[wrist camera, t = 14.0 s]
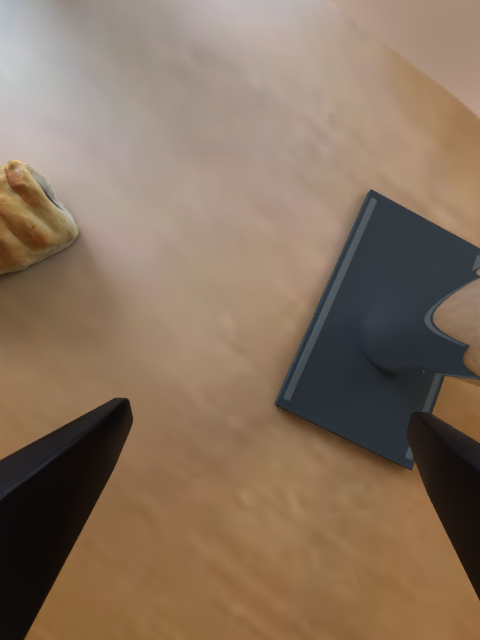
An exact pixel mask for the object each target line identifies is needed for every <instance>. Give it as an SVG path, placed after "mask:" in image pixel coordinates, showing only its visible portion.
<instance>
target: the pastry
mask: <svg viewBox="0 0 480 640" xmlns="http://www.w3.org/2000/svg"><path fill="white" fill-rule="evenodd" d="M78 233H79V229H78V227H77V225H76V223H75V220H74V219H73V217H72V215H71V214H70V213H69V212H68V211H67V210H66V209H65V207H64V206H63V205H62V204H61V203H60V202H59V201H58V200H57V198H56V195H55V191H54V189H53V187H52V185H51V184H50V183H49V182H48V180H47V179H46V178H45V177H44V176H43V175H42V174H41V173H39V172H38V171H36V170H35V169H33V168H32V167H30V166H29V165H28V164H26V163H24V162H21V161H19V160H10V161H8V163H7V165H4V166H1V167H0V275H1V274H5V273H9V272H17V271H23V270H25V269H26V268H27V267H28V266H31V265H33V264H36V263H38V262H40V261H42V260H44V259H47V258H49V256H51V255H53V254H55V253H57V252H60V251H62V250H64V249H66V248H67V247H69V246H70V245H71V243H72V242H73V241H74V240H75V239H76V238H77V237H78Z"/></svg>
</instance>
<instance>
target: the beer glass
mask: <svg viewBox="0 0 480 640" xmlns="http://www.w3.org/2000/svg"><path fill="white" fill-rule="evenodd" d="M360 342H361V346H362V349H363V351H364V353H365V355H366V356H367V358H368V359H369V360H370V362H371V363H372V364H374V365H375V366H376V367H378V368H379V369H381V370H383V371H385V372H388V373H393V374H404V373H411V372H421V371H422V372H432V373H436V374H440V375H443V376H447V377H450V378H453V379H456V380H459V381H463V382H466V383H469V384H472V385H475V386H479V387H480V268H477V269H475V270H473V271H471V272H469V273H467V274H464V275H462V276H460V277H458V278H456V279H454V280H452V281H450V282H448V283H446V284H444V285H442V286H440V287H439V288H437V289H435V290H433V291H430V292H428V293H426V294H424V295H421V296H418V297H415V298H395V299H387V300H383V301H380V302H378V303H376V304H375V305H373V306H372V307H371V308H370V309H369V310H368V311H367V312H366V314H365V315H364V317H363V319H362V322H361V325H360Z"/></svg>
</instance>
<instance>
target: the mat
mask: <svg viewBox="0 0 480 640" xmlns="http://www.w3.org/2000/svg"><path fill="white" fill-rule="evenodd" d="M477 268H480V248H478V247H476V246H474V245H473V244H471V243H469V242H467V241H465V240H463V239H461V238H460V237H458V236H456V235H454V234H452V233H450V232H449V231H447V230H445V229H443V228H441V227H439V226H438V225H436V224H434V223H432V222H430V221H428V220H427V219H425V218H423V217H421V216H419V215H417V214H416V213H414V212H412V211H410V210H408V209H406V208H405V207H403V206H401V205H399V204H397V203H395V202H394V201H392V200H390V199H388V198H386V197H384V196H383V195H381V194H379V193H377V192H375V191H373V190H370V191H369V192H368V194H367V196H366V198H365V201H364V203H363V205H362V208H361V210H360V212H359V214H358V217H357V219H356V221H355V223H354V226H353V228H352V230H351V232H350V235H349V237H348V239H347V241H346V244H345V246H344V248H343V250H342V253H341V255H340V257H339V259H338V262H337V264H336V266H335V268H334V271H333V273H332V275H331V277H330V280H329V282H328V284H327V286H326V289H325V291H324V293H323V295H322V298H321V300H320V302H319V304H318V307H317V309H316V311H315V313H314V316H313V318H312V320H311V322H310V325H309V327H308V329H307V331H306V334H305V336H304V338H303V340H302V343H301V345H300V347H299V349H298V352H297V354H296V356H295V358H294V361H293V363H292V365H291V367H290V370H289V372H288V374H287V377H286V379H285V381H284V383H283V386H282V388H281V390H280V392H279V395H278V397H277V399H276V401H275V405H276V406H278V407H281V408H283V409H285V410H287V411H289V412H291V413H293V414H295V415H297V416H299V417H301V418H303V419H305V420H307V421H310V422H312V423H314V424H316V425H318V426H320V427H322V428H324V429H326V430H328V431H330V432H332V433H334V434H336V435H339V436H341V437H343V438H345V439H347V440H349V441H351V442H353V443H355V444H357V445H359V446H361V447H363V448H365V449H368V450H370V451H372V452H374V453H376V454H378V455H380V456H382V457H384V458H386V459H388V460H390V461H392V462H394V463H397V464H399V465H401V466H403V467H405V468H407V469H409V470H412V468H413V465H414V463H415V460H414V457H413V454H412V452H411V449H410V446H409V444H408V441H407V429H408V425H409V421H410V417H411V414H412V413H413V412H428V413H431V414H432V411H433V408H434V405H435V402H436V400H437V397H438V394H439V391H440V388H441V385H442V382H443V380H444V377H445V376H443V375H440V374H436V373H432V372H422V371H421V372H411V373H404V374H393V373H388V372H385V371H383V370H381V369H379V368H378V367H376V366H375V365H374V364H372V363H371V362H370V360H369V359H368V358H367V356H366V355H365V353H364V351H363V349H362V346H361V342H360V325H361V322H362V319H363V317H364V315H365V314H366V312H367V311H368V310H369V309H370V308H371V307H372V306H373V305H375V304H376V303H378V302H380V301H383V300H387V299H395V298H415V297H418V296H421V295H424V294H426V293H428V292H430V291H433V290H435V289H437V288H439V287H440V286H442V285H444V284H446V283H448V282H450V281H452V280H454V279H456V278H458V277H460V276H462V275H464V274H467V273H469V272H471V271H473V270H475V269H477Z"/></svg>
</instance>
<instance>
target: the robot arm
mask: <svg viewBox="0 0 480 640" xmlns="http://www.w3.org/2000/svg"><path fill="white" fill-rule="evenodd" d="M132 423H133V415H132V410H131V406H130V401H129V399H127V398H114V399H112V400H110V401H108V402H107V403H105V404H103V405H101V406H99V407H97V408H96V409H94V410H92V411H90V412H88V413H86V414H85V415H83V416H81V417H79V418H77V419H75V420H73V421H72V422H70V423H68V424H66V425H64V426H62V427H61V428H59V429H57V430H55V431H53V432H51V433H50V434H48V435H46V436H44V437H42V438H40V439H39V440H37V441H35V442H33V443H31V444H29V445H27V446H26V447H24V448H22V449H20V450H18V451H16V452H15V453H13V454H11V455H9V456H7V457H5V458H4V459H2V460H0V640H24V639H25V637H26V635H27V633H28V631H29V629H30V628H31V626H32V624H33V622H34V620H35V618H36V616H37V614H38V612H39V610H40V609H41V607H42V605H43V603H44V601H45V599H46V597H47V595H48V593H49V591H50V590H51V588H52V586H53V584H54V582H55V580H56V578H57V576H58V574H59V572H60V571H61V569H62V567H63V565H64V563H65V561H66V559H67V557H68V555H69V553H70V552H71V550H72V548H73V546H74V544H75V542H76V540H77V538H78V536H79V535H80V533H81V531H82V529H83V527H84V525H85V523H86V521H87V519H88V517H89V516H90V514H91V512H92V510H93V508H94V506H95V504H96V502H97V500H98V498H99V497H100V495H101V493H102V491H103V489H104V487H105V485H106V483H107V481H108V479H109V478H110V476H111V474H112V472H113V470H114V468H115V465H116V463H117V461H118V458H119V456H120V453H121V451H122V448H123V446H124V444H125V441H126V439H127V436H128V434H129V431H130V429H131V426H132ZM407 441H408V444H409V446H410V449H411V452H412V454H413V457H414V460H415V462H416V465H417V468H418V470H419V473H420V476H421V478H422V481H423V484H424V486H425V489H426V491H427V494H428V496H429V498H430V500H431V502H432V504H433V506H434V508H435V510H436V512H437V514H438V516H439V518H440V521H441V523H442V525H443V527H444V529H445V531H446V533H447V535H448V537H449V539H450V541H451V543H452V545H453V547H454V549H455V551H456V553H457V555H458V557H459V559H460V561H461V563H462V565H463V567H464V570H465V572H466V574H467V576H468V578H469V580H470V582H471V584H472V586H473V588H474V590H475V592H476V594H477V596H478V598H479V600H480V443H479V442H477V441H475V440H474V439H472V438H470V437H469V436H467V435H465V434H464V433H462V432H460V431H459V430H457V429H455V428H454V427H452V426H450V425H449V424H447V423H445V422H444V421H442V420H441V419H439V418H437V417H436V416H434V415H432V414H431V413H428V412H413V413H412V414H411V417H410V421H409V425H408V429H407Z"/></svg>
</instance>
